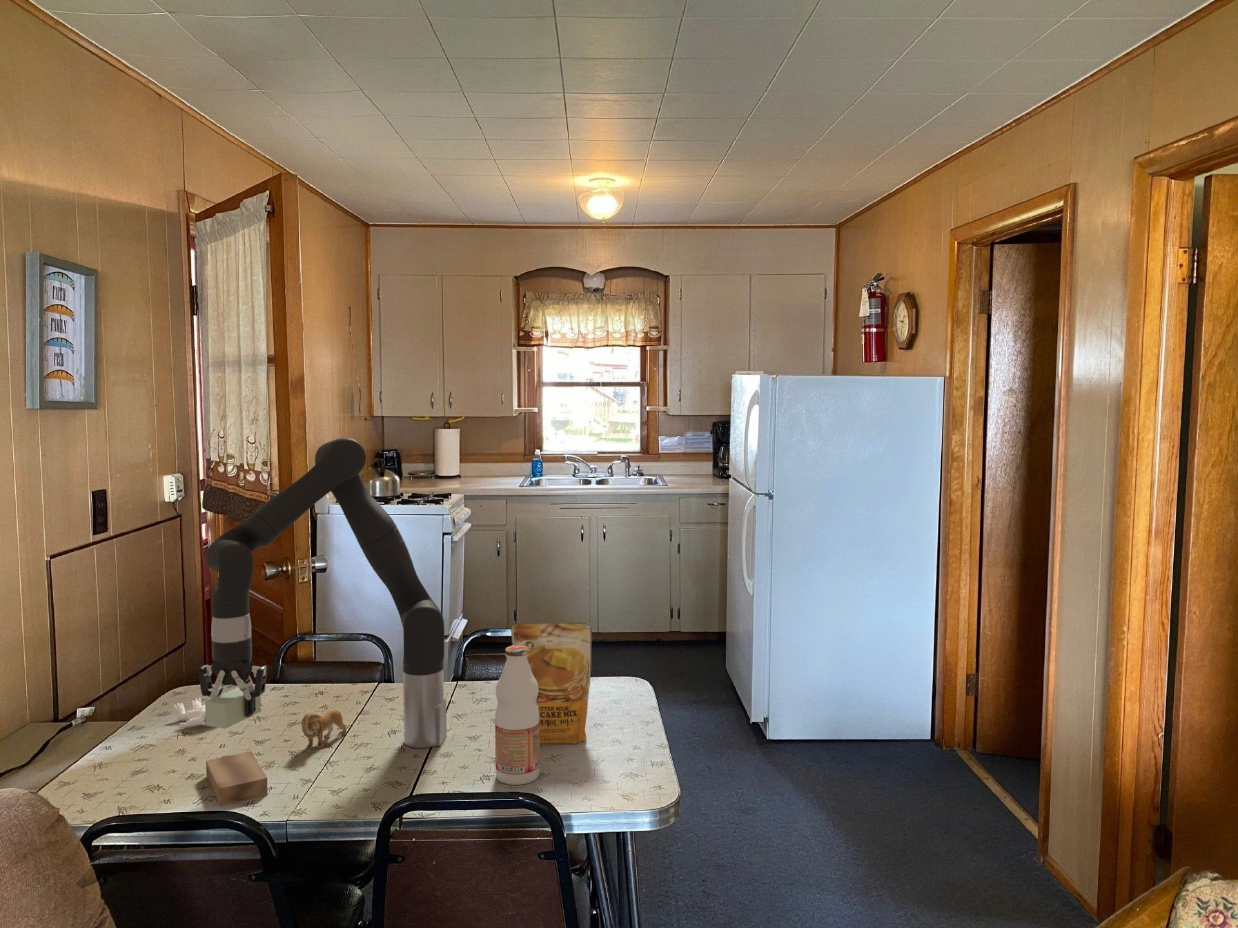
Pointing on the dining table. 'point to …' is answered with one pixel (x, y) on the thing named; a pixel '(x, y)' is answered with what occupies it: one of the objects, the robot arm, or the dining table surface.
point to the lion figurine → (321, 725)
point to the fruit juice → (517, 720)
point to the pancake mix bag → (559, 677)
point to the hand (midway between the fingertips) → (234, 715)
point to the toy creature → (191, 714)
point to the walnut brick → (236, 778)
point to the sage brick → (228, 709)
